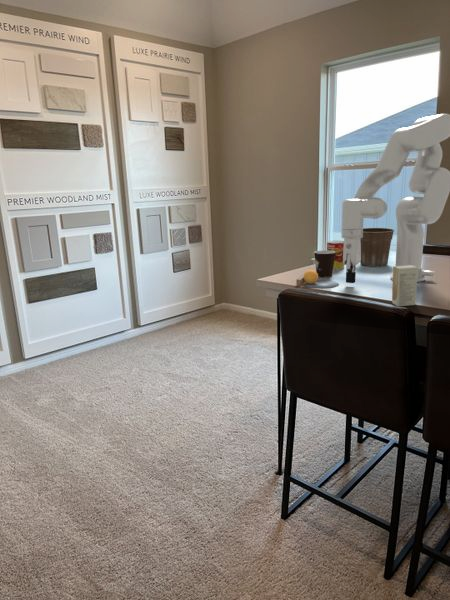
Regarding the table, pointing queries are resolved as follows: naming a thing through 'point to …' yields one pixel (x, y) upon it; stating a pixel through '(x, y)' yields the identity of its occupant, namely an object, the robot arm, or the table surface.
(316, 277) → the ball
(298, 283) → the stopper rail
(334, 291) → the table surface
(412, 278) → the skincare box
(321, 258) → the coffee mug
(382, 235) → the plant pot
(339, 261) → the canned food
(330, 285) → the disc
